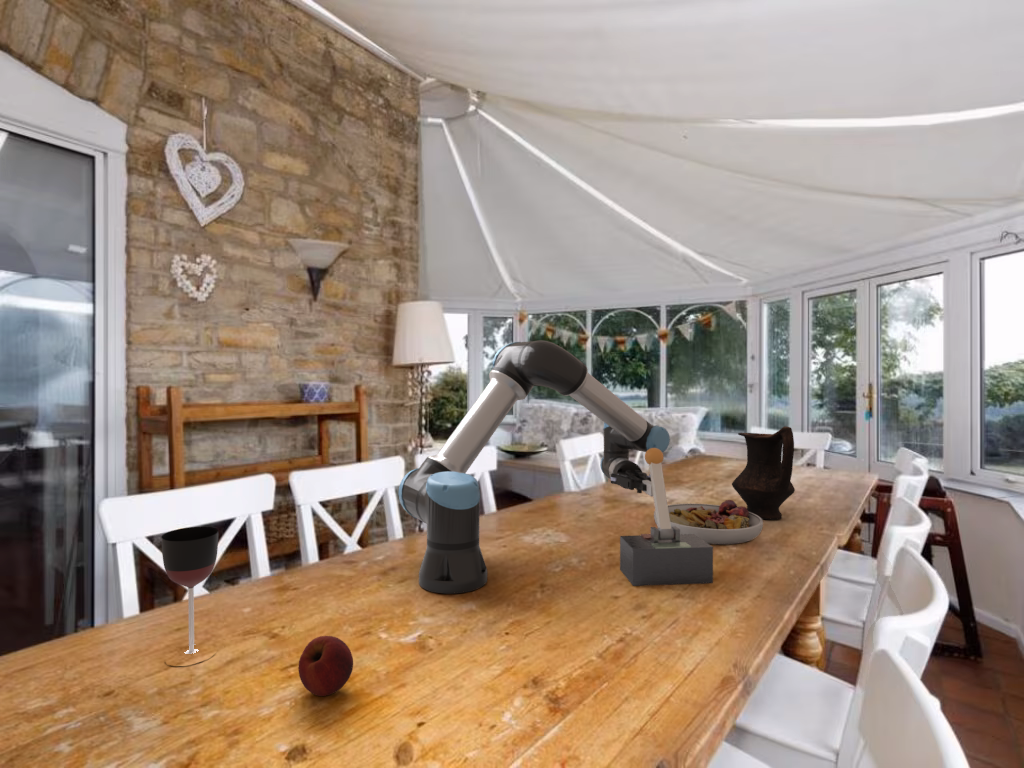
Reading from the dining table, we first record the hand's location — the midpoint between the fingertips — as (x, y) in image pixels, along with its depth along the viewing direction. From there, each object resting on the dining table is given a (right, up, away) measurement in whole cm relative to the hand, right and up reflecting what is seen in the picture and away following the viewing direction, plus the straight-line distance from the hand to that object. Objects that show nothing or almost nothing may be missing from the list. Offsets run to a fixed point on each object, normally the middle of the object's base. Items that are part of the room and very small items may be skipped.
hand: (654, 490), depth 134 cm
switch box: (+1, -18, -7) cm, 19 cm away
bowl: (+23, -18, +29) cm, 41 cm away
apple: (-61, -19, -53) cm, 83 cm away
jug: (+47, -17, +45) cm, 67 cm away
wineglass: (-87, -19, -43) cm, 98 cm away
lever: (+1, -9, -8) cm, 12 cm away
